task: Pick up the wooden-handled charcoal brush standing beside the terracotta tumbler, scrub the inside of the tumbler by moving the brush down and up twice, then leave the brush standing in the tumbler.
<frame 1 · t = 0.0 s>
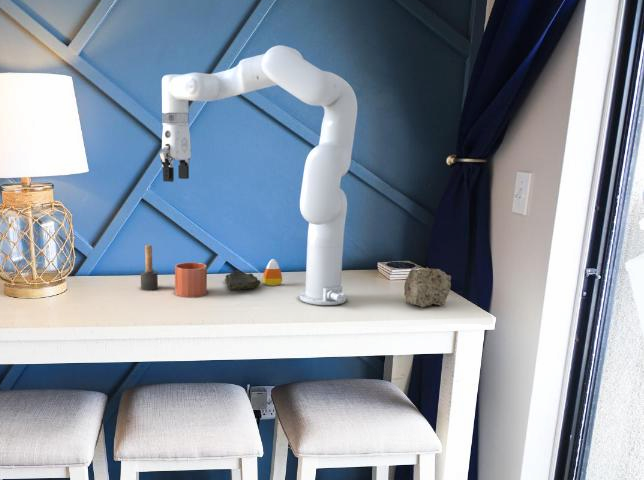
hand: (176, 180, 187), 31 cm above the table, tool pointing down, fingers open, 9 cm apart
candy corn: (272, 285, 192), on the table
rock: (428, 305, 171), on the table
stone: (241, 286, 191), on the table
tumbler: (190, 293, 183), on the table
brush: (149, 288, 189), on the table
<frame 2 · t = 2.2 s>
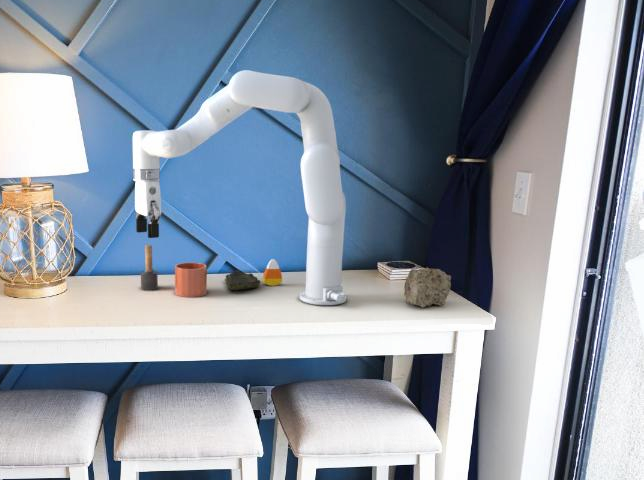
hand: (147, 234, 185), 16 cm above the table, tool pointing down, fingers open, 9 cm apart
nothing on the table moved.
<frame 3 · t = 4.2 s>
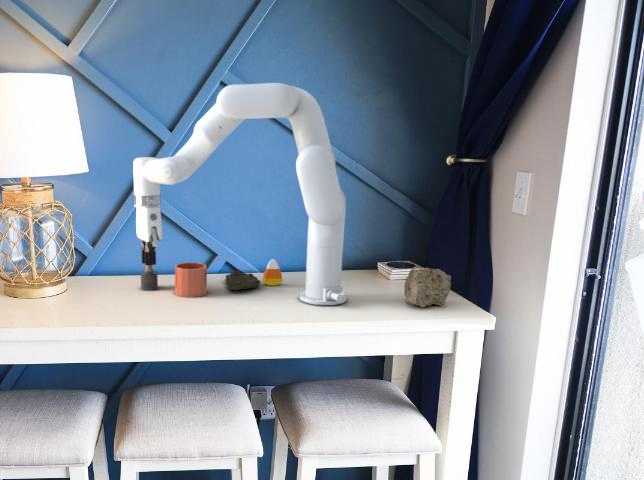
hand: (148, 263, 187), 8 cm above the table, tool pointing down, fingers closed on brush
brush: (149, 288, 189), on the table, touching gripper
everything else where it was.
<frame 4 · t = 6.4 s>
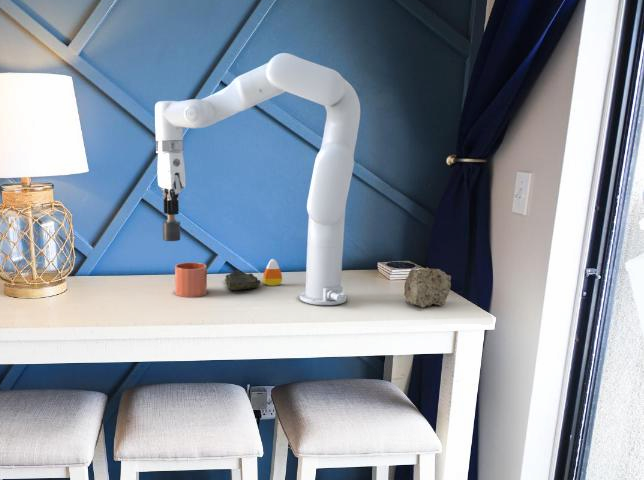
hand: (171, 213, 180), 23 cm above the table, tool pointing down, fingers closed on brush
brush: (171, 239, 182), point 15 cm above the table, touching gripper
everything else where it was.
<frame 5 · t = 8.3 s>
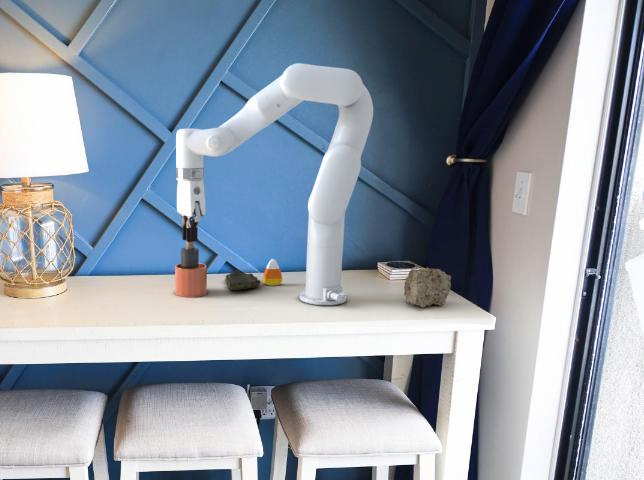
hand: (189, 240, 180), 15 cm above the table, tool pointing down, fingers closed on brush
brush: (189, 266, 181), point 8 cm above the table, touching gripper
everything else where it was.
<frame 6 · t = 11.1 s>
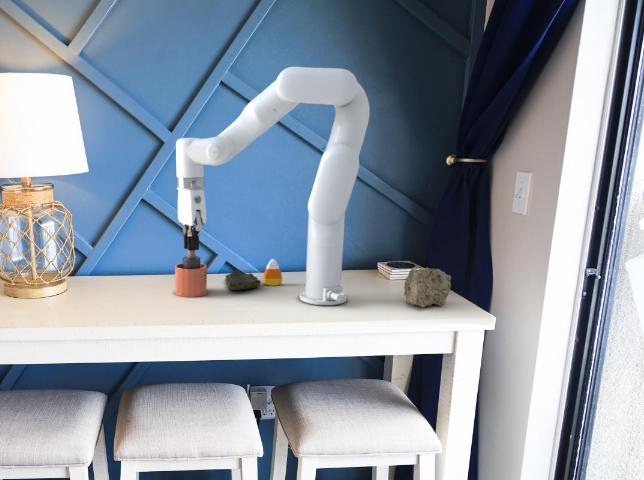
hand: (191, 248, 180), 13 cm above the table, tool pointing down, fingers closed on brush
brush: (191, 274, 182), point 5 cm above the table, touching gripper
everything else where it was.
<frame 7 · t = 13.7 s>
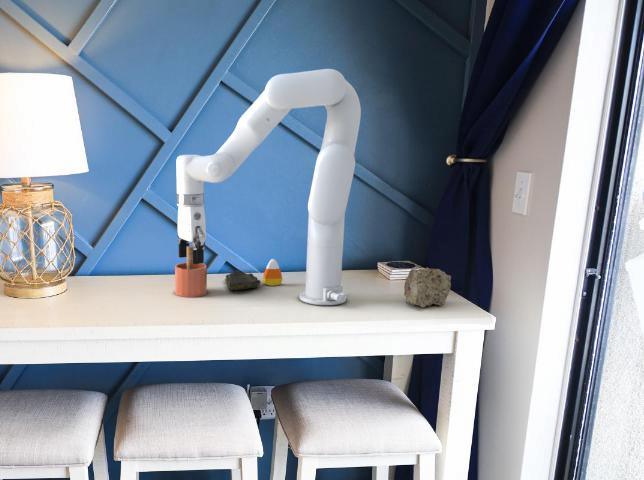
hand: (190, 260, 181), 10 cm above the table, tool pointing down, fingers open, 9 cm apart
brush: (190, 290, 183), point 1 cm above the table, touching tumbler
everything else where it was.
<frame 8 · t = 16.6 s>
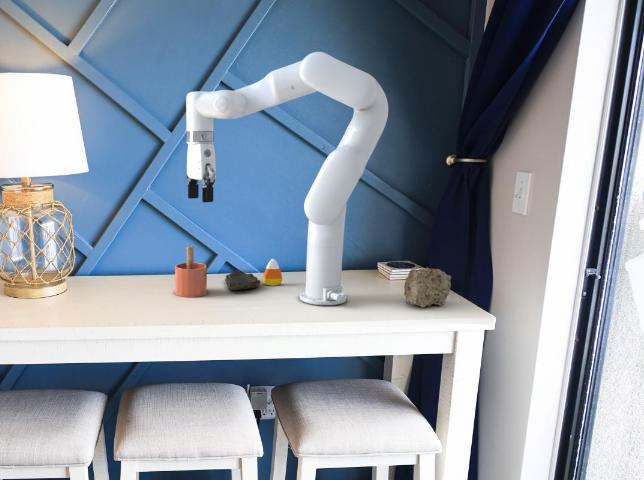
hand: (200, 200, 180), 26 cm above the table, tool pointing down, fingers open, 9 cm apart
nothing on the table moved.
at the end: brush 0.1 cm off-centre in the tumbler, point 0.6 cm above the tumbler's base; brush tilted 0°; the gripper is holding nothing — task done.
